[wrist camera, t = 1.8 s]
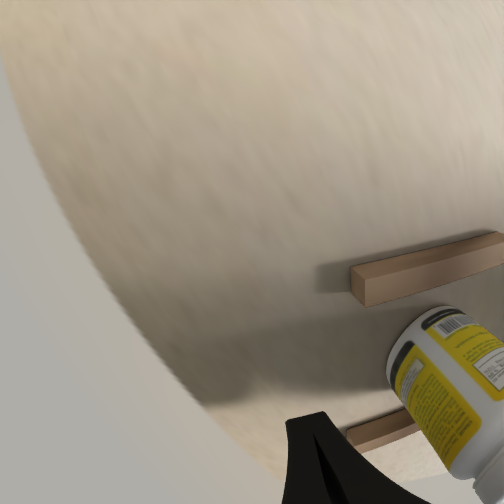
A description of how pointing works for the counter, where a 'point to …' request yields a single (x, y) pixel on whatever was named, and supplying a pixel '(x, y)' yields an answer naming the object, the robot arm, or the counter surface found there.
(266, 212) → the counter surface
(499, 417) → the supplement bottle
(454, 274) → the rails
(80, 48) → the counter surface
